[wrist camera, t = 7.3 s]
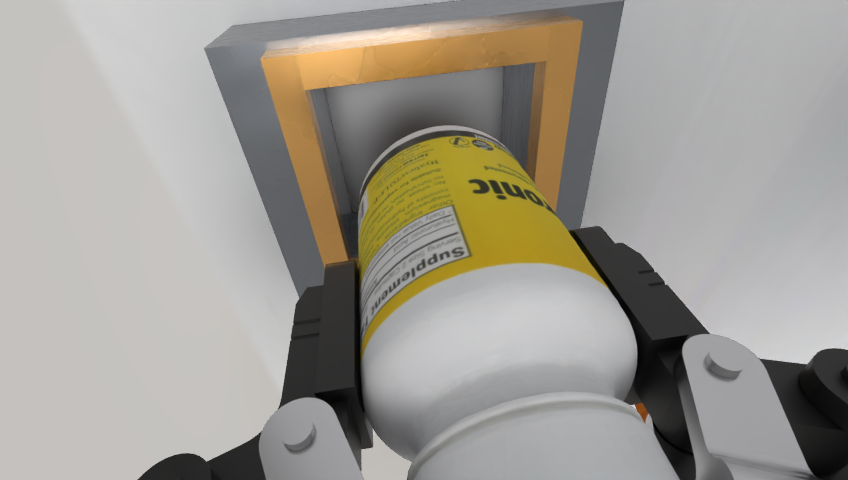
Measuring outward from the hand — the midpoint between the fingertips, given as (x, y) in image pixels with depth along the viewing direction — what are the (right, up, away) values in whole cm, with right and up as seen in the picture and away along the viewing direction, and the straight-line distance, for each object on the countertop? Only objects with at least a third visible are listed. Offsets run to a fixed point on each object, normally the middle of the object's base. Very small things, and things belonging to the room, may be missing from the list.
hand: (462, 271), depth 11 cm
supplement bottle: (0, +2, +3) cm, 4 cm away
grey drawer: (-1, +3, +10) cm, 10 cm away
